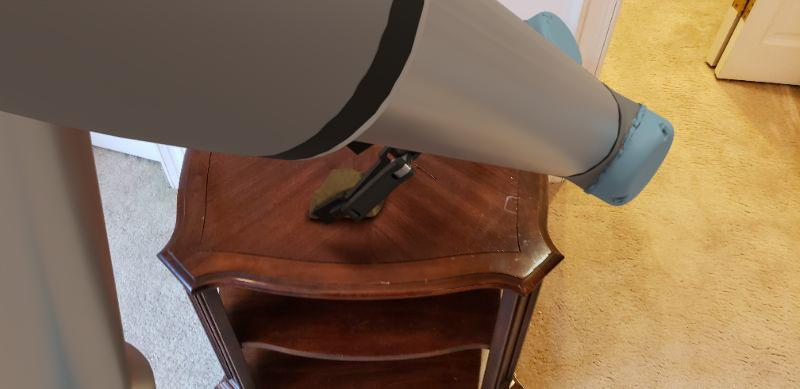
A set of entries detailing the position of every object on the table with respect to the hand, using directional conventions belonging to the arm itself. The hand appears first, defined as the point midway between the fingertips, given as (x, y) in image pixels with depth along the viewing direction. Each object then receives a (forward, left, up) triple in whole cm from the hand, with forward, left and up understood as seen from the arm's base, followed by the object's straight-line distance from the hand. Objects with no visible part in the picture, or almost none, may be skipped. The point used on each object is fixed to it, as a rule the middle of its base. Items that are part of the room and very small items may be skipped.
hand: (336, 180), depth 77 cm
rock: (0, -1, -6) cm, 6 cm away
